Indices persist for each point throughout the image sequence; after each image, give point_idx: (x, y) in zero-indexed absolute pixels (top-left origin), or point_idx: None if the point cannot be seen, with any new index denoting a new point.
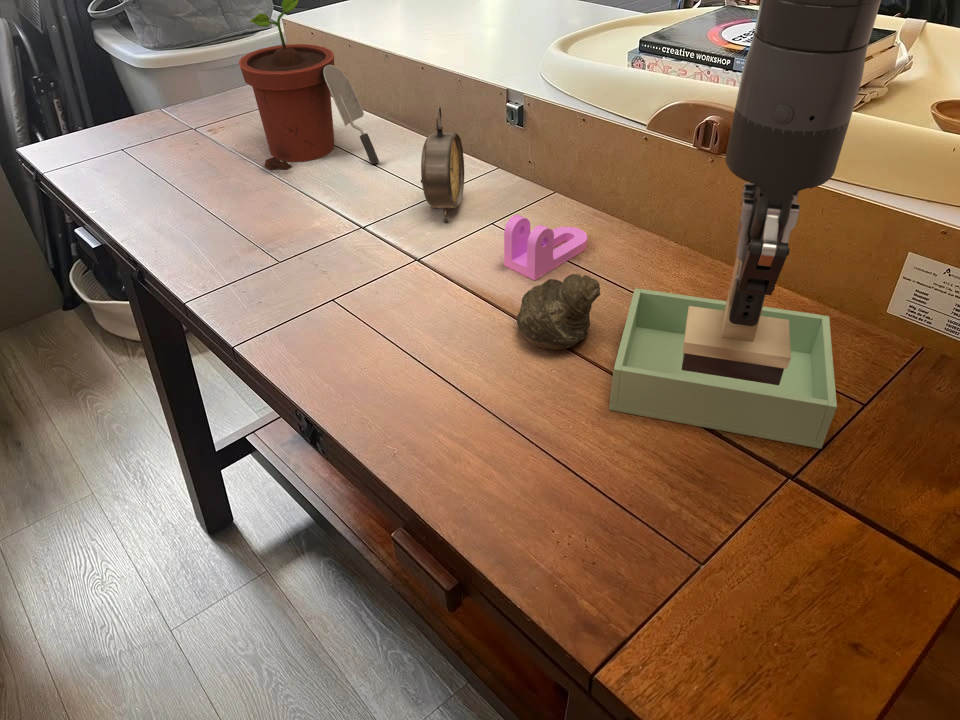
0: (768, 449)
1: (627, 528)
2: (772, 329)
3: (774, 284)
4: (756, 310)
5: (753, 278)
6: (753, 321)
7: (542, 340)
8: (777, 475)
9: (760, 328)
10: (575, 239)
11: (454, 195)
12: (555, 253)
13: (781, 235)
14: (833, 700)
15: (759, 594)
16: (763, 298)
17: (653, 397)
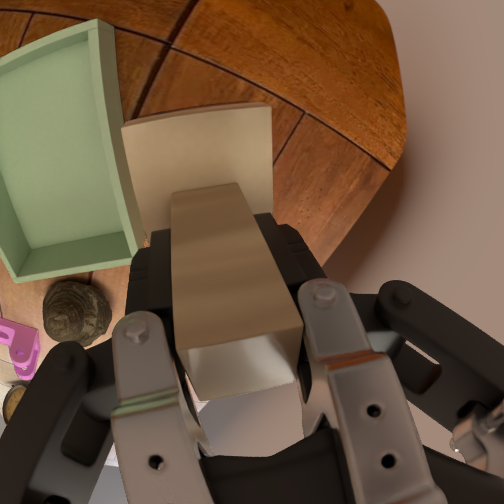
0: (133, 73)
1: (283, 174)
2: (175, 153)
3: (455, 315)
4: (307, 248)
5: (396, 351)
6: (294, 229)
7: (109, 310)
8: (170, 57)
9: (183, 177)
10: None
11: (22, 392)
12: (7, 330)
13: (383, 462)
14: (387, 32)
15: (322, 67)
16: (296, 258)
17: (134, 206)
